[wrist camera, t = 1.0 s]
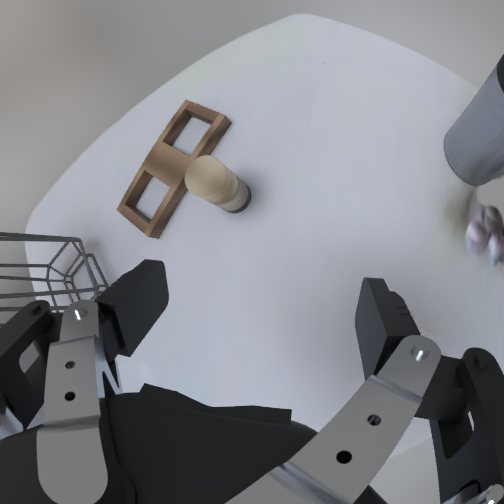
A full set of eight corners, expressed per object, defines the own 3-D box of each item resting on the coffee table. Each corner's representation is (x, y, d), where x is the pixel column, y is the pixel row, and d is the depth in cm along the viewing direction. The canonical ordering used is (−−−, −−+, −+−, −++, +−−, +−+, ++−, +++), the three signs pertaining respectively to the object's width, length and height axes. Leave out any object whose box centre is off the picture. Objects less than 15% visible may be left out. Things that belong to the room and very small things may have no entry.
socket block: (192, 106, 40) (185, 99, 38) (231, 123, 38) (225, 115, 36) (126, 212, 42) (116, 209, 40) (158, 238, 40) (148, 236, 38)
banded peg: (231, 175, 38) (199, 148, 28) (257, 191, 37) (232, 166, 27) (213, 202, 38) (177, 183, 29) (239, 219, 37) (208, 203, 28)
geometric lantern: (84, 339, 44) (-81, 367, 11) (57, 268, 48) (-93, 261, 14) (132, 299, 41) (-92, 317, 8) (98, 220, 44) (-85, 183, 11)
